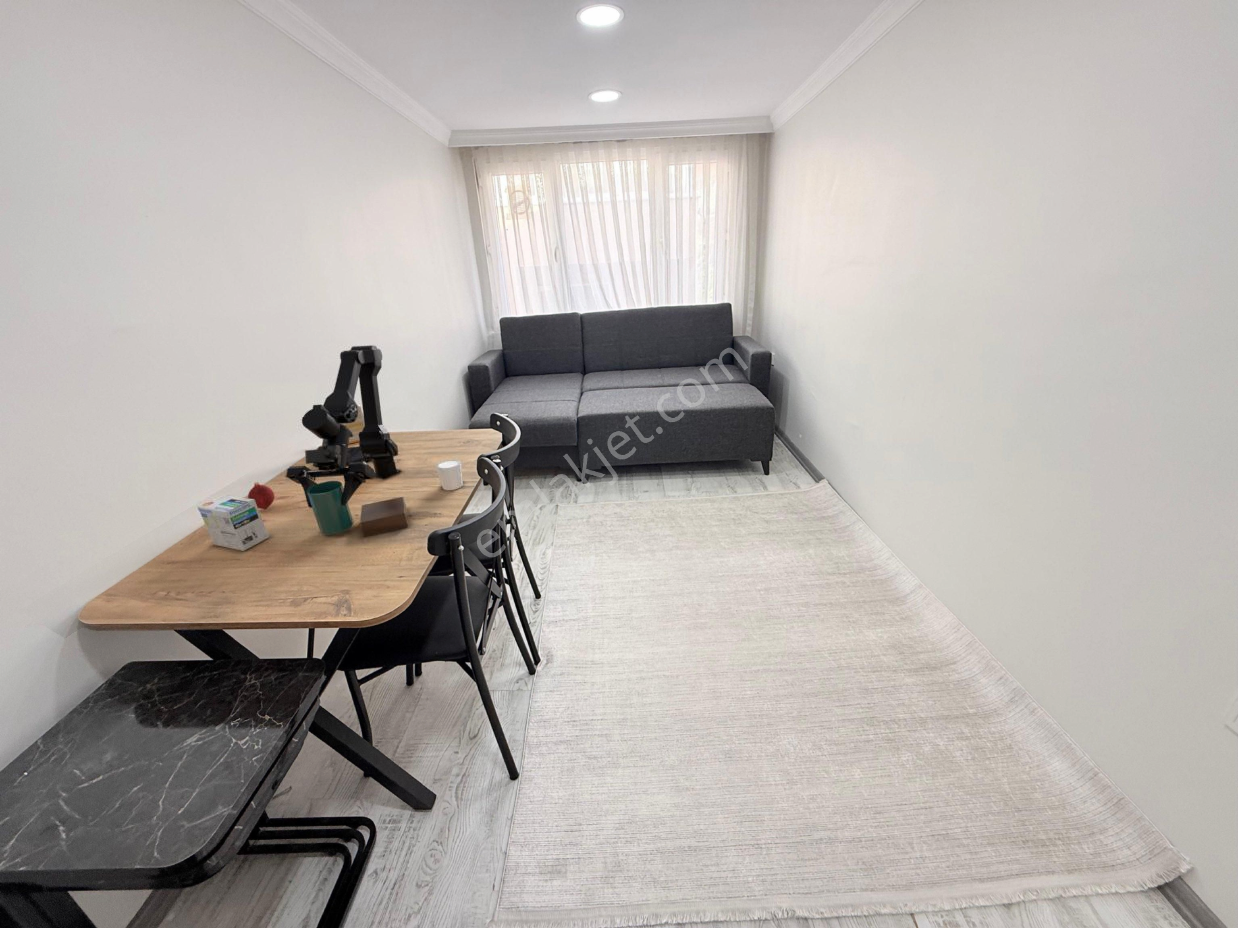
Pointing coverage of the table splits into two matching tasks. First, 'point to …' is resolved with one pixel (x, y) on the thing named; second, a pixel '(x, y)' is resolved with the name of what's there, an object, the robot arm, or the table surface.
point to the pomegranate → (261, 495)
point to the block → (383, 516)
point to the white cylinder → (450, 474)
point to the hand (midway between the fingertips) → (326, 506)
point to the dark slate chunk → (355, 455)
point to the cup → (330, 507)
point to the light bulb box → (233, 522)
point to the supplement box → (356, 426)
